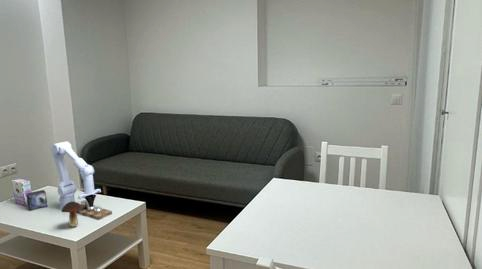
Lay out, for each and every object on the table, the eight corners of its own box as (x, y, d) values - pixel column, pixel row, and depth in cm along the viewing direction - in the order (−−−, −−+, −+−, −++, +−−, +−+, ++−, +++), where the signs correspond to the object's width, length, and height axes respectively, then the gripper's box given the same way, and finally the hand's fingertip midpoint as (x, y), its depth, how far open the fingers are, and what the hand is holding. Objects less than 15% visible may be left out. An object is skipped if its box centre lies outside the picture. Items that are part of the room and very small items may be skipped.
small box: (29, 211, 227) (27, 195, 226) (27, 208, 232) (25, 193, 230) (47, 206, 234) (45, 191, 232) (45, 204, 239) (43, 189, 237)
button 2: (93, 215, 217) (92, 209, 216) (99, 213, 220) (98, 206, 220) (97, 216, 215) (97, 210, 214) (103, 214, 218) (103, 207, 217)
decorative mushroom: (59, 229, 199) (56, 204, 196) (75, 221, 209) (72, 197, 206) (73, 232, 195) (70, 206, 192) (89, 224, 204) (86, 199, 202)
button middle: (86, 213, 220) (85, 206, 219) (92, 210, 224) (92, 204, 223) (91, 214, 218) (90, 208, 217) (97, 212, 222) (96, 205, 221)
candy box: (34, 203, 241) (30, 180, 238) (25, 206, 236) (21, 183, 233) (23, 200, 248) (20, 177, 245) (14, 203, 243) (11, 180, 240)
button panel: (72, 212, 223) (71, 209, 223) (86, 206, 232) (85, 203, 231) (98, 219, 210) (98, 216, 210) (112, 214, 218) (111, 210, 218)
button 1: (79, 208, 223) (79, 201, 222) (86, 205, 227) (85, 199, 226) (84, 209, 221) (83, 203, 220) (90, 207, 225) (89, 200, 224)
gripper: (82, 190, 210) (84, 211, 212) (103, 183, 222) (105, 203, 224) (75, 188, 213) (77, 209, 216) (95, 181, 225) (98, 201, 228)
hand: (91, 206), depth 220 cm, fingers closed, pressing on button middle
